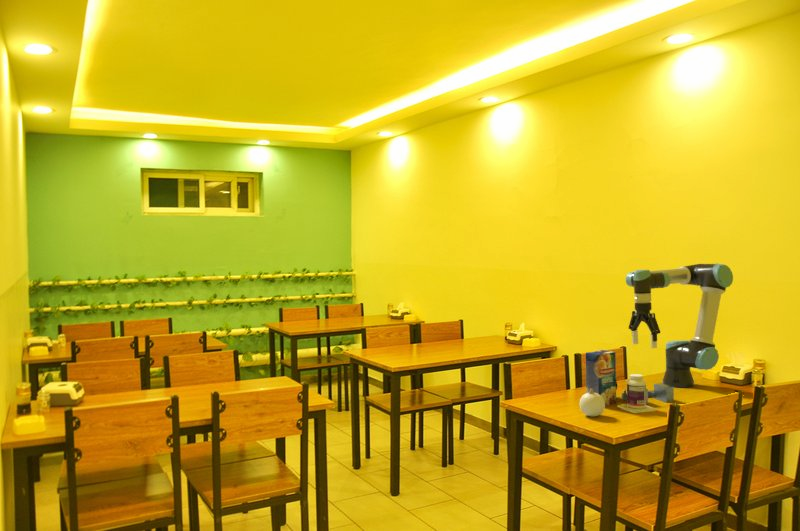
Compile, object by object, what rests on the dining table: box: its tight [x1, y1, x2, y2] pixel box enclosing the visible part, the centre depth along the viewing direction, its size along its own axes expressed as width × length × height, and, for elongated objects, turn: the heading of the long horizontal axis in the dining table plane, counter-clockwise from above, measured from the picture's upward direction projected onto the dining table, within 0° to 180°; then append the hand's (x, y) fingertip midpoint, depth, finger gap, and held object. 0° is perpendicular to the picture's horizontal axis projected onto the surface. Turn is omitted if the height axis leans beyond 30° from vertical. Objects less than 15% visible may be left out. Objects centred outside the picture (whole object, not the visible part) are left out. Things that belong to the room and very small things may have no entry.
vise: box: [621, 382, 675, 405], centre depth 304 cm, size 24×14×7 cm, turn 105°
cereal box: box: [585, 349, 617, 407], centre depth 299 cm, size 12×8×24 cm, turn 123°
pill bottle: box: [626, 373, 647, 409], centre depth 288 cm, size 8×8×14 cm
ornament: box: [579, 389, 606, 418], centre depth 278 cm, size 10×10×12 cm
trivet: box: [616, 403, 658, 414], centre depth 288 cm, size 12×12×1 cm
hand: (644, 346), depth 309 cm, fingers open, 13 cm apart
